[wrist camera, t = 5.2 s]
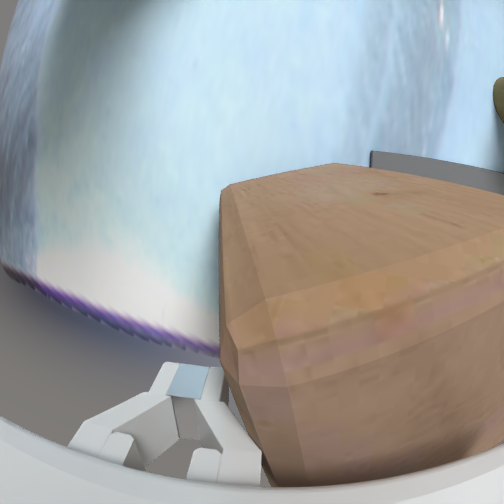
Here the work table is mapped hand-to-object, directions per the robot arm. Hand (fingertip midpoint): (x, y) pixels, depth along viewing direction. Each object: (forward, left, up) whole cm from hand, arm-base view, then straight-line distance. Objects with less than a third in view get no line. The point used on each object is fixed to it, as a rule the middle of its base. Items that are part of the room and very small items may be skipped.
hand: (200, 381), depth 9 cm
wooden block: (-1, +4, -17) cm, 17 cm away
